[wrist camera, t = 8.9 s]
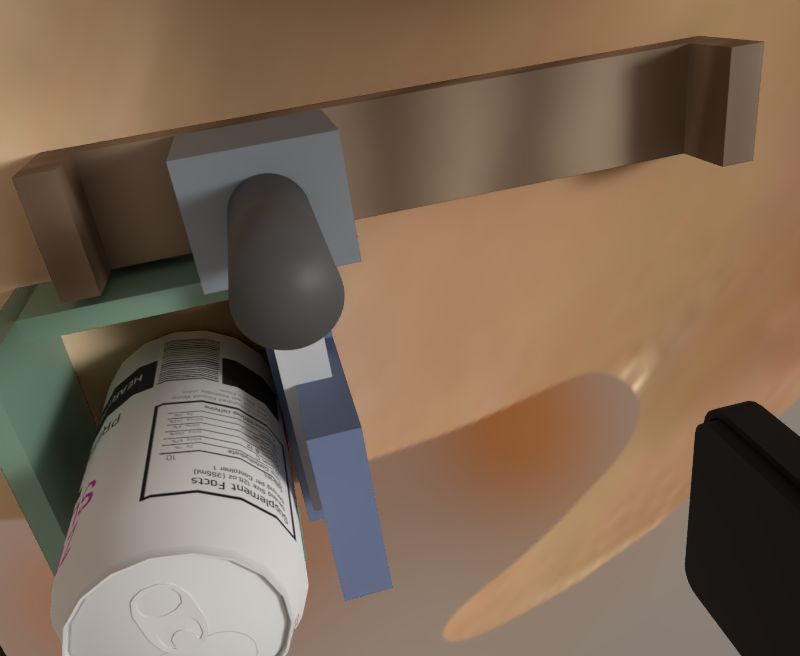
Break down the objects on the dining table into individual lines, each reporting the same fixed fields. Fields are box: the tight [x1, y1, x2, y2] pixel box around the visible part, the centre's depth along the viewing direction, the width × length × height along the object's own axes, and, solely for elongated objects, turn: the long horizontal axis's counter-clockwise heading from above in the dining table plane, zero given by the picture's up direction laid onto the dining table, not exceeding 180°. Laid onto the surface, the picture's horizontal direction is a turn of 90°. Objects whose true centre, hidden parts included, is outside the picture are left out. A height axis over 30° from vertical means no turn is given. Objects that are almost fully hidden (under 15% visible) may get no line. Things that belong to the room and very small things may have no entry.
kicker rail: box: [12, 36, 764, 304], centre depth 30 cm, size 30×5×4 cm, turn 98°
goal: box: [0, 253, 307, 576], centre depth 32 cm, size 10×16×8 cm, turn 8°
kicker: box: [166, 110, 393, 601], centre depth 28 cm, size 6×20×14 cm, turn 9°
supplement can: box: [51, 330, 308, 656], centre depth 29 cm, size 8×8×15 cm
